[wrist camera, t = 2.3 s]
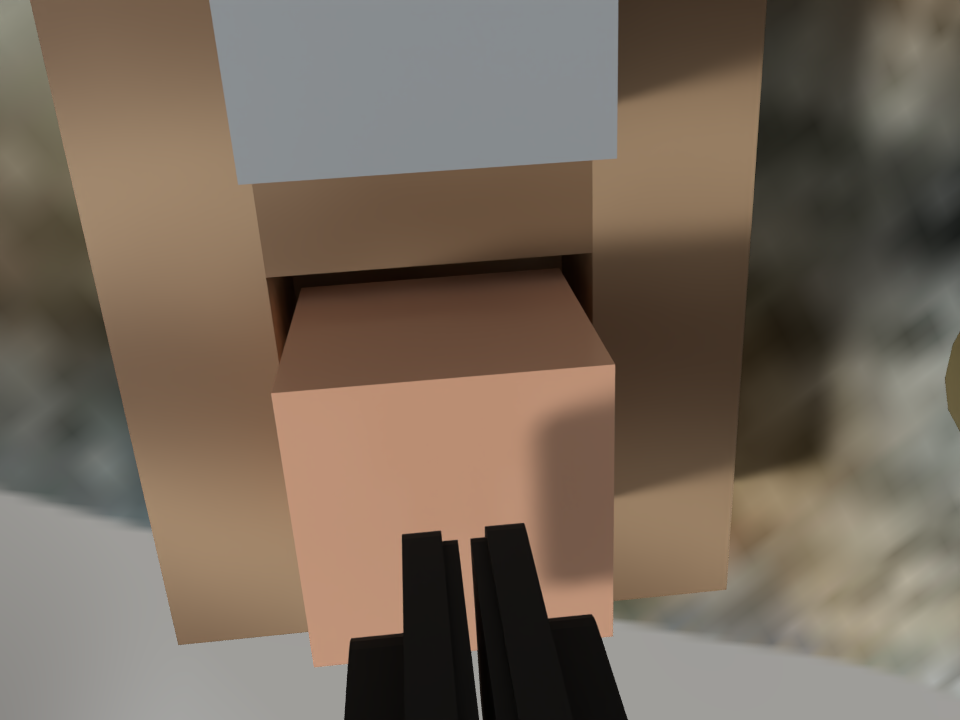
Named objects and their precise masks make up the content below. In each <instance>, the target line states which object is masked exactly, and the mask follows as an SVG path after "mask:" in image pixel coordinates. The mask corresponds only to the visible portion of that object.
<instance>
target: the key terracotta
mask: <svg viewBox="0 0 960 720" xmlns="http://www.w3.org/2000/svg"><path fill="white" fill-rule="evenodd" d="M271 397H272V403H273V409H274V416H275V422H276V428H277V435H278V441H279V448H280V454H281V460H282V467H283V473H284V479H285V486H286V492H287V498H288V505H289V511H290V517H291V524H292V530H293V537H294V543H295V549H296V556H297V562H298V568H299V575H300V581H301V587H302V594H303V600H304V606H305V613H306V619H307V626H308V632H309V638H310V645H311V651H312V657H313V664H314V667H322V666H331V665H341V664H348V656H349V645H350V640H351V638H358V637H368V636H378V635H388V634H398V633H403V582H402V534H409V533H419V532H430V531H441V534H442V541H449V540H458V545H459V554H460V562H461V571H462V579H463V588H464V596H465V604H466V613H467V621H468V630H469V638H470V647H471V651H476V650H477V636H476V621H475V606H474V591H473V575H472V560H471V545H470V538H480V537H485V526H494V525H505V524H515V523H524V524H525V527H526V530H527V534H528V538H529V542H530V547H531V551H532V555H533V559H534V563H535V567H536V571H537V575H538V579H539V583H540V587H541V591H542V595H543V599H544V603H545V607H546V611H547V615H548V618H557V617H567V616H577V615H586V614H592V615H593V616H594V618H595V621H596V623H597V626H598V629H599V632H600V635H601V637H610V636H613V557H614V444H615V363H614V361H613V360H612V358H611V356H610V355H609V353H608V351H607V349H606V348H605V346H604V344H603V343H602V341H601V339H600V337H599V336H598V334H597V332H596V331H595V329H594V327H593V325H592V324H591V322H590V320H589V319H588V317H587V315H586V313H585V312H584V310H583V308H582V307H581V305H580V303H579V301H578V300H577V298H576V296H575V295H574V293H573V291H572V289H571V288H570V286H569V284H568V283H567V281H566V279H565V277H564V276H563V274H562V272H561V271H560V269H559V268H553V269H540V270H526V271H513V272H500V273H487V274H474V275H461V276H448V277H435V278H422V279H409V280H396V281H383V282H370V283H357V284H344V285H331V286H318V287H305V288H301V291H300V294H299V298H298V301H297V305H296V308H295V312H294V315H293V319H292V322H291V326H290V329H289V332H288V336H287V339H286V343H285V346H284V350H283V353H282V357H281V360H280V364H279V367H278V371H277V374H276V378H275V381H274V385H273V388H272V392H271Z"/></svg>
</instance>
